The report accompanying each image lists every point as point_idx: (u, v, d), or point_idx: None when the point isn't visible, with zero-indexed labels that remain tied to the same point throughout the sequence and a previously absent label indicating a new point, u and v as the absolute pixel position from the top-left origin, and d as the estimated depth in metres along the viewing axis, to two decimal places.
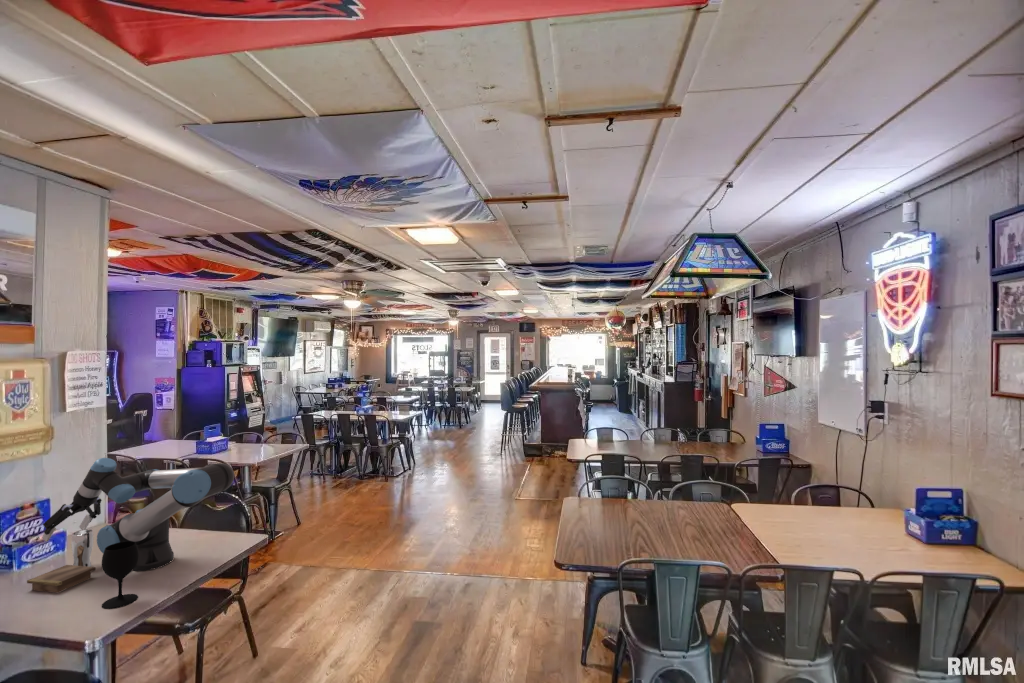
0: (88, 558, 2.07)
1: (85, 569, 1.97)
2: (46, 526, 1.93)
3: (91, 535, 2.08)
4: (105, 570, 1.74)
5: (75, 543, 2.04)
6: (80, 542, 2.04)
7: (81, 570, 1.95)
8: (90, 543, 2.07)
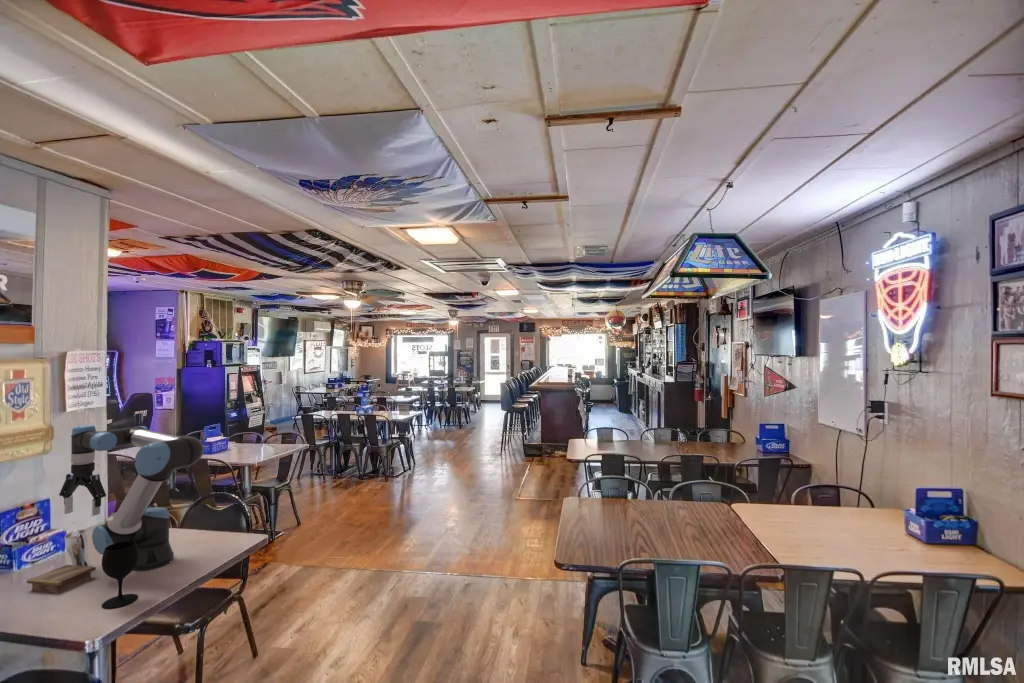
0: (86, 557, 2.06)
1: (85, 569, 1.97)
2: None
3: (84, 536, 2.05)
4: (105, 570, 1.74)
5: (69, 545, 2.02)
6: (74, 544, 2.02)
7: (81, 570, 1.95)
8: (85, 543, 2.05)
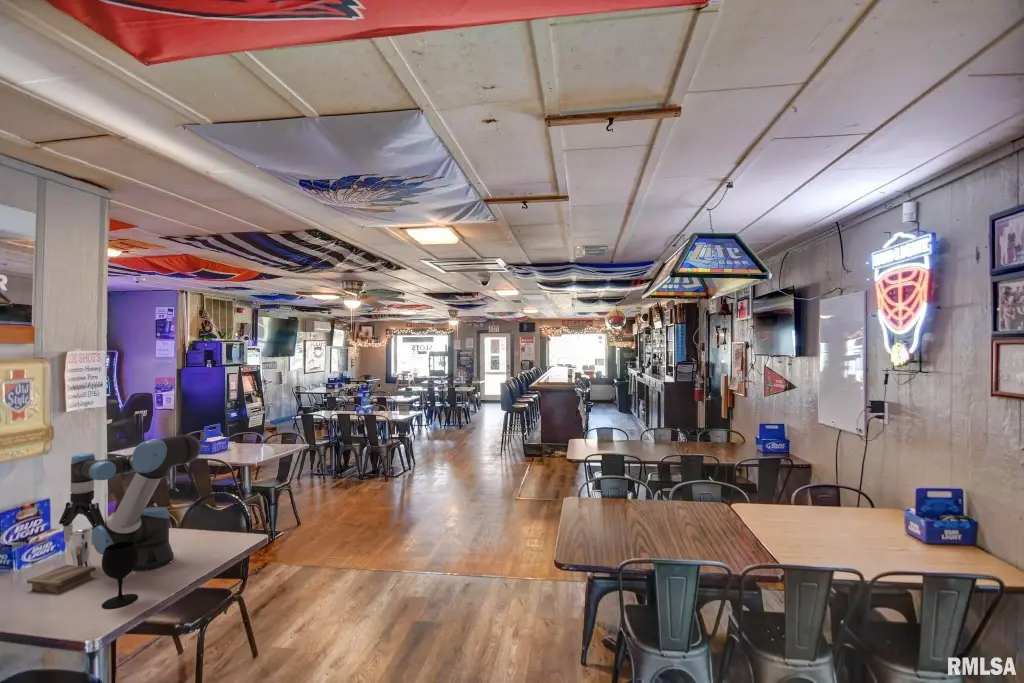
0: (87, 557, 2.07)
1: (85, 569, 1.97)
2: None
3: (89, 535, 2.07)
4: (105, 570, 1.74)
5: (73, 543, 2.04)
6: (78, 542, 2.04)
7: (81, 570, 1.95)
8: (88, 542, 2.07)
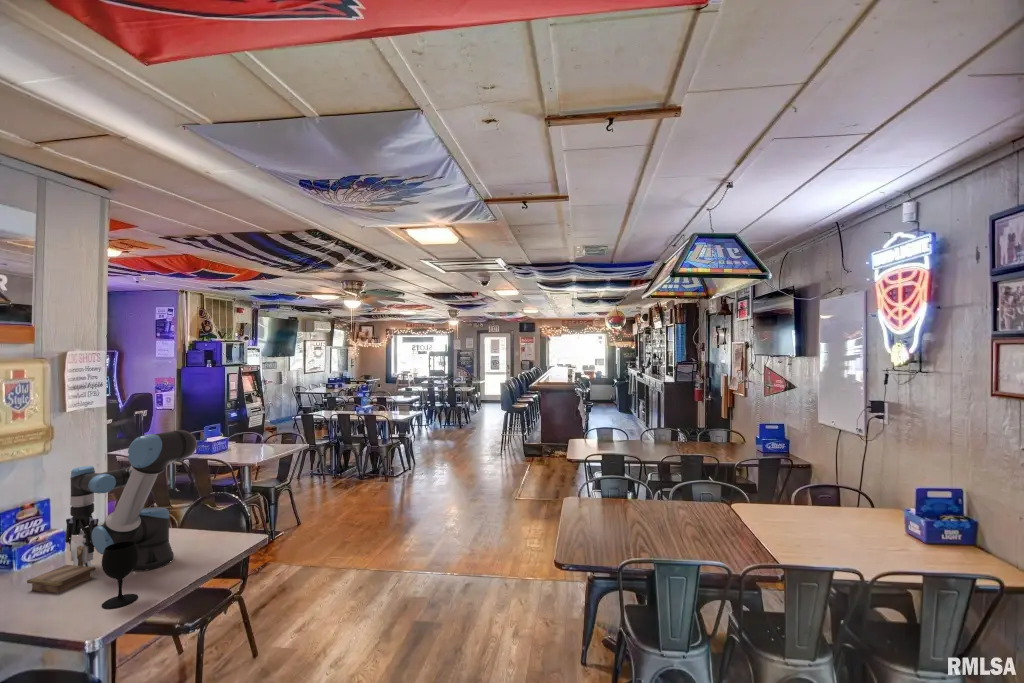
0: None
1: (85, 569, 1.97)
2: None
3: None
4: (105, 570, 1.74)
5: (74, 543, 2.04)
6: (80, 542, 2.04)
7: (81, 570, 1.95)
8: None
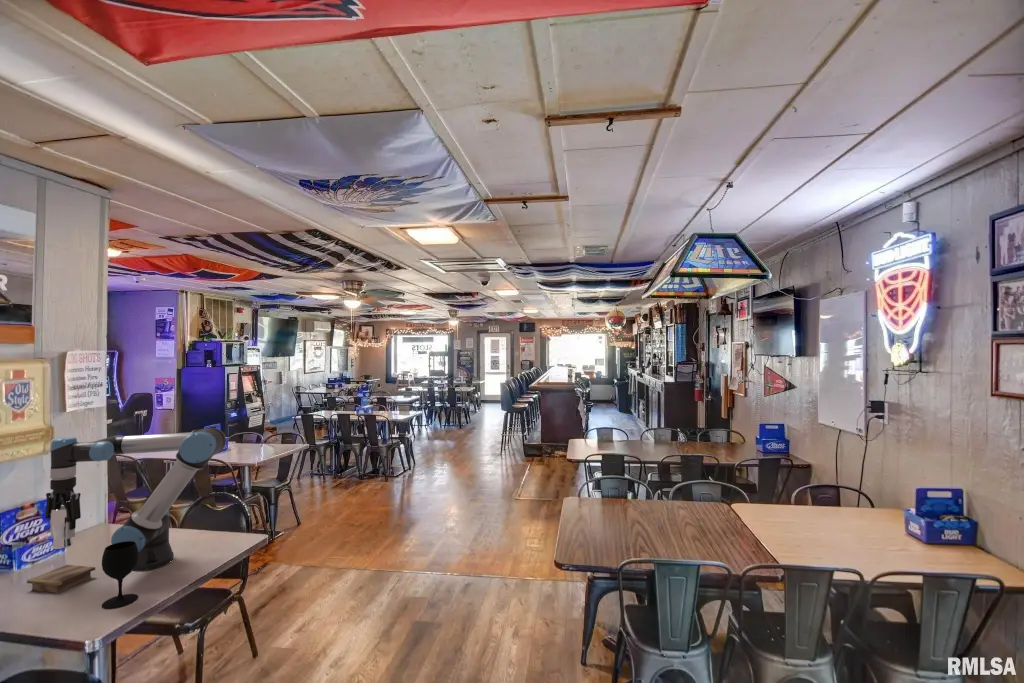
0: None
1: (85, 569, 1.97)
2: None
3: None
4: (105, 570, 1.74)
5: (54, 518, 1.90)
6: (60, 517, 1.91)
7: (81, 570, 1.95)
8: None
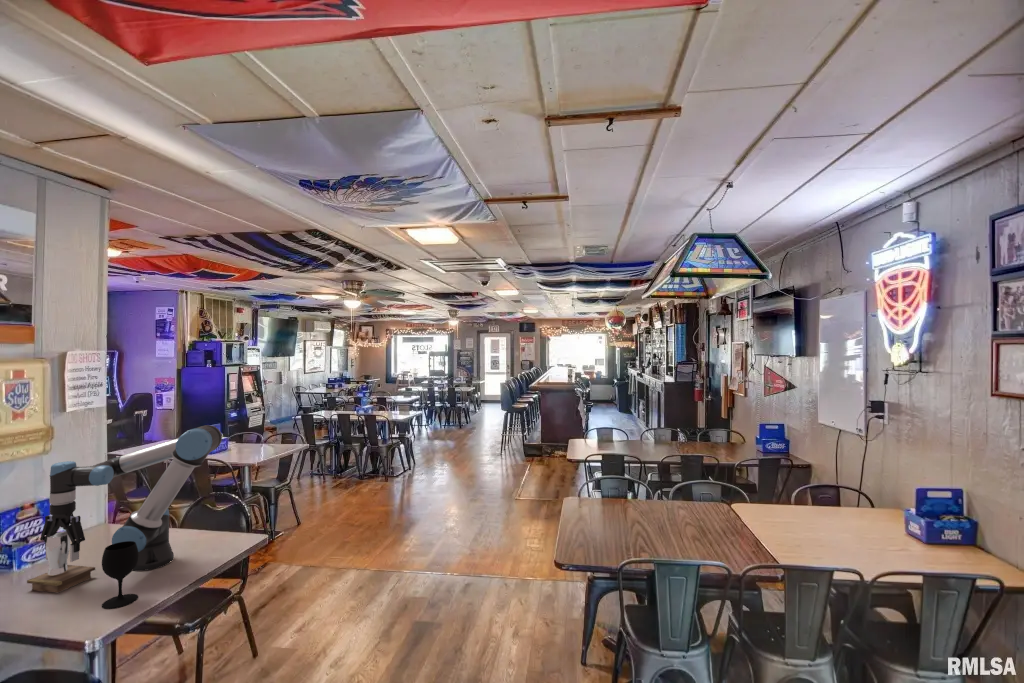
0: (65, 562, 1.94)
1: (85, 569, 1.97)
2: None
3: (68, 537, 1.94)
4: (105, 570, 1.74)
5: (50, 546, 1.90)
6: (56, 545, 1.91)
7: (81, 570, 1.95)
8: (67, 546, 1.94)
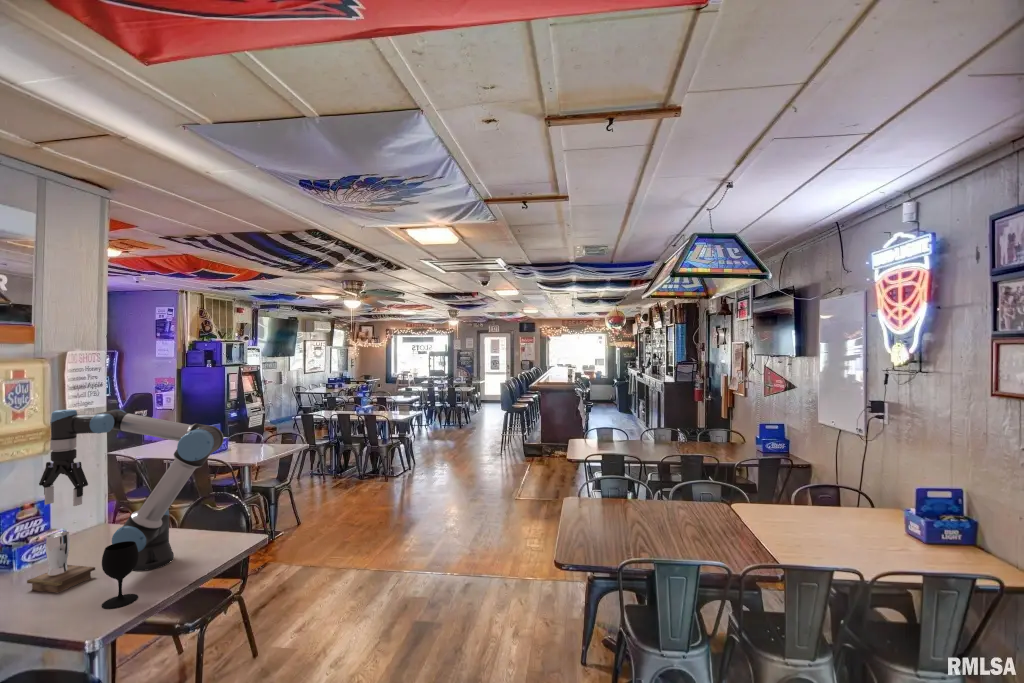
0: (64, 562, 1.94)
1: (85, 569, 1.97)
2: None
3: (67, 537, 1.94)
4: (105, 570, 1.74)
5: (50, 546, 1.90)
6: (55, 545, 1.91)
7: (81, 570, 1.95)
8: (66, 546, 1.94)
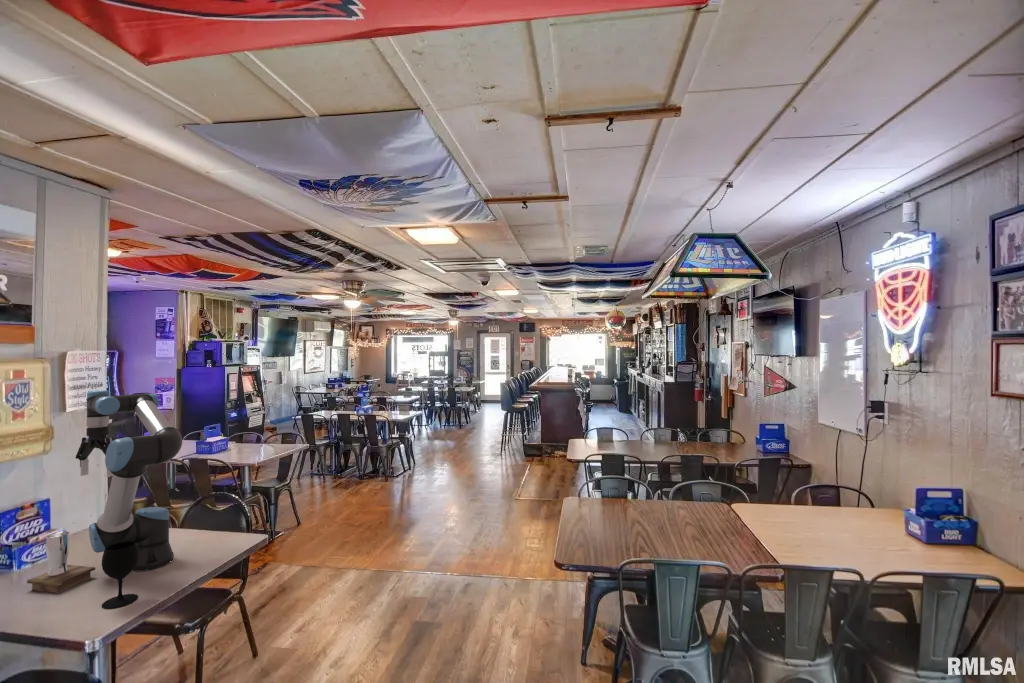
0: (64, 562, 1.94)
1: (85, 569, 1.97)
2: None
3: (67, 537, 1.94)
4: (105, 570, 1.74)
5: (50, 546, 1.90)
6: (55, 545, 1.91)
7: (81, 570, 1.95)
8: (66, 546, 1.94)
